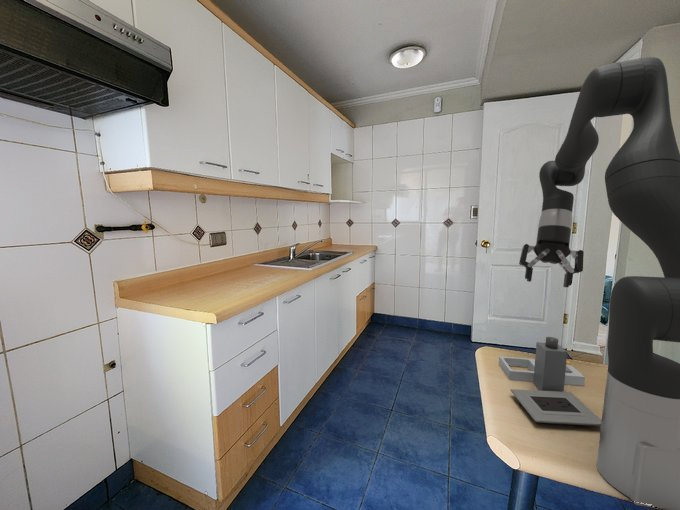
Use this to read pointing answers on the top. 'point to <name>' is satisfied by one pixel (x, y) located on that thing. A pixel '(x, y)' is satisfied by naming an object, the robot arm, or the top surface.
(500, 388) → the top surface
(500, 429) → the top surface
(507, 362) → the grey rectangular frame
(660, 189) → the robot arm
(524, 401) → the electrical outlet
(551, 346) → the plug
